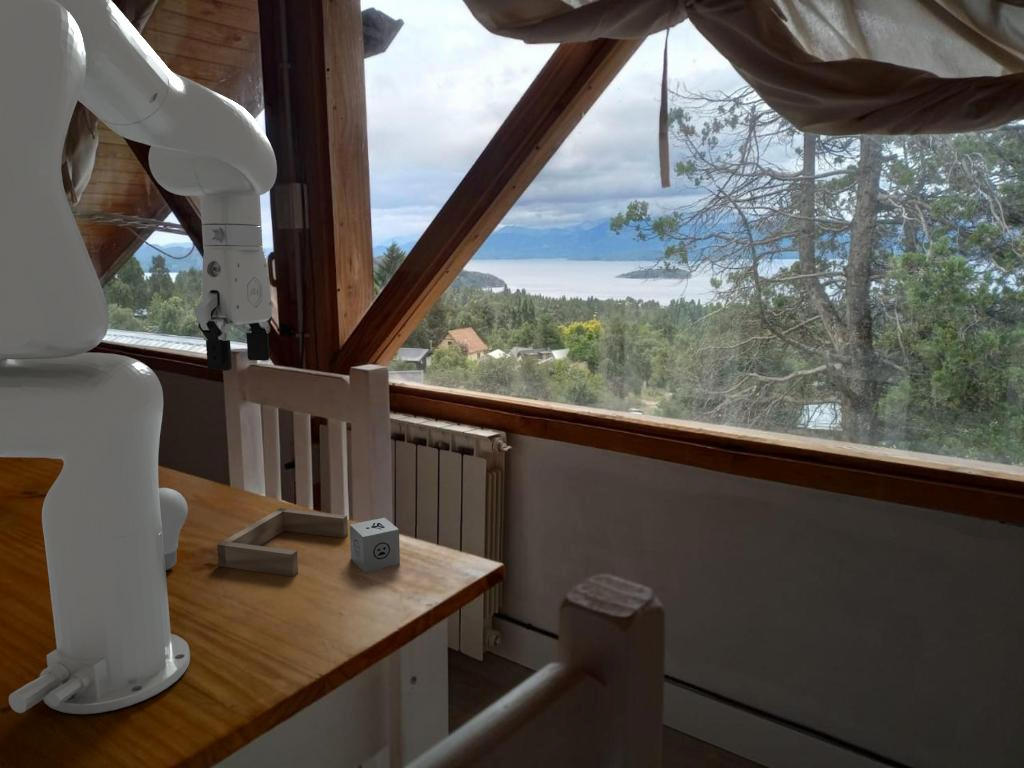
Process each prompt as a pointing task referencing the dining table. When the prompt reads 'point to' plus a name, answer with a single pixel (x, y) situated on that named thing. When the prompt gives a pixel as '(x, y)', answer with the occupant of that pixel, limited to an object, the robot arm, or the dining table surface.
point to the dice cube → (374, 544)
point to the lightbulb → (171, 522)
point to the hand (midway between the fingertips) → (240, 364)
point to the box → (246, 543)
